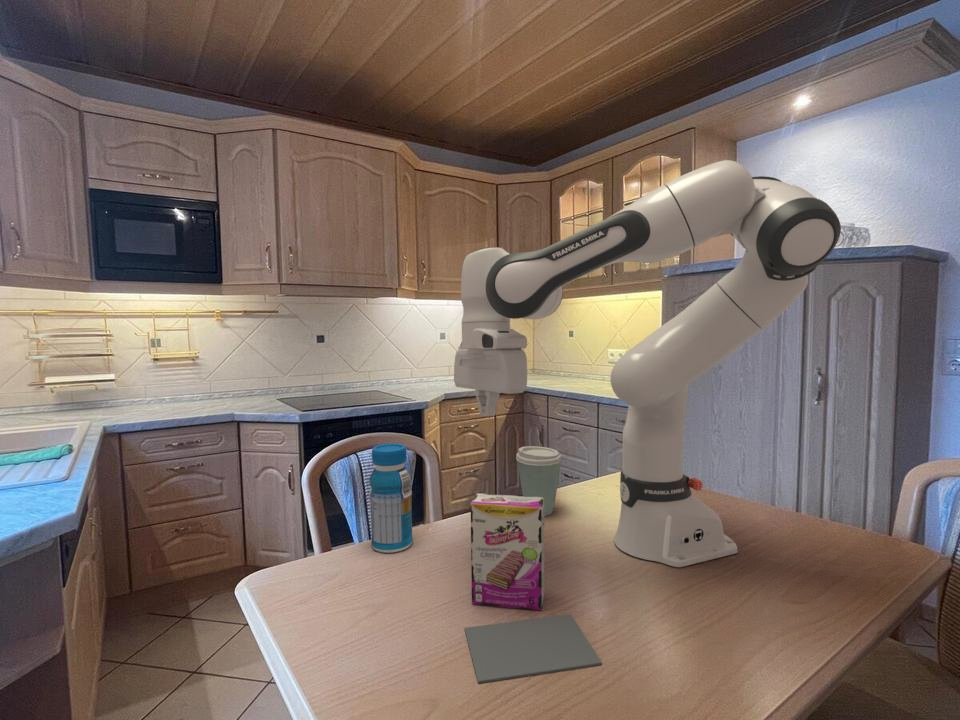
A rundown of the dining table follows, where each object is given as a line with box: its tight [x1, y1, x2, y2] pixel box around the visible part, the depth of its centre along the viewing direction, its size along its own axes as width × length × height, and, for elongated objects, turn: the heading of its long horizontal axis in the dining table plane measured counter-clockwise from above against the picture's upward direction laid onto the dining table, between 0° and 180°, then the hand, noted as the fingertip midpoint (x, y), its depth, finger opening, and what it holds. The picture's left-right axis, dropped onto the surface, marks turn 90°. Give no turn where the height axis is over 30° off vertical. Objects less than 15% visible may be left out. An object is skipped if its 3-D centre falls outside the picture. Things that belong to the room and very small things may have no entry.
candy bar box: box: [470, 493, 545, 612], centre depth 77 cm, size 11×5×16 cm, turn 78°
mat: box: [464, 613, 603, 684], centre depth 67 cm, size 16×11×1 cm
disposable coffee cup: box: [515, 445, 563, 517], centre depth 115 cm, size 11×11×15 cm
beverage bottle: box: [368, 443, 414, 554], centre depth 99 cm, size 8×8×20 cm
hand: (487, 415), depth 90 cm, fingers closed
